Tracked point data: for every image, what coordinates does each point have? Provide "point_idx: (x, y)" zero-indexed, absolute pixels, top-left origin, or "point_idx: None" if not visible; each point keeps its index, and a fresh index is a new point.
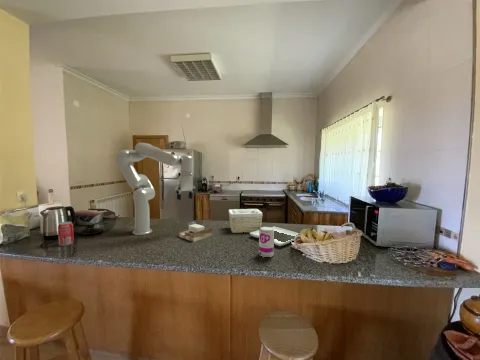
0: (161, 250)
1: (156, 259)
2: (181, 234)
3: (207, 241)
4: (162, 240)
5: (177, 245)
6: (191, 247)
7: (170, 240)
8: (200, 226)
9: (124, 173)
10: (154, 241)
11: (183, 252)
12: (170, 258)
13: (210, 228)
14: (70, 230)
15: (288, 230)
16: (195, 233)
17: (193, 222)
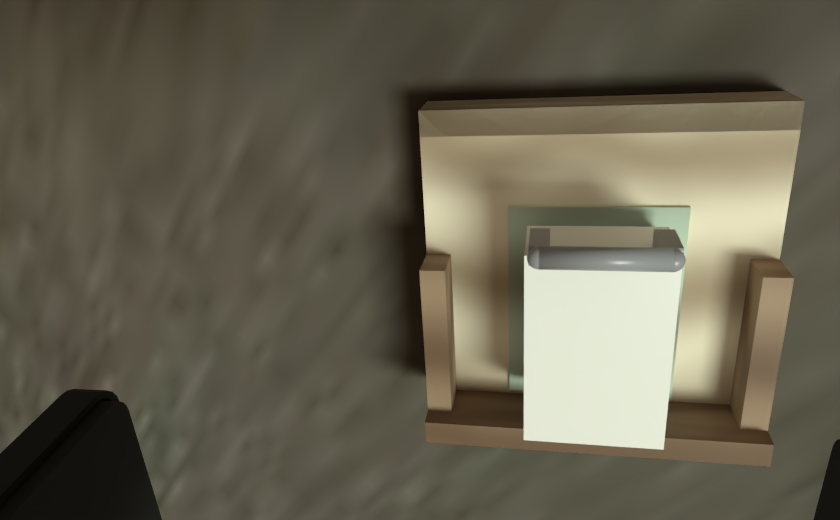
0: (105, 321)
1: (26, 426)
2: (423, 186)
3: (551, 471)
4: (210, 85)
5: (267, 333)
6: (337, 458)
7: (281, 157)
8: (612, 419)
9: None
10: (125, 45)
11: (230, 479)
12: None
13: (740, 463)
14: None
15: None
16: (454, 438)
17: (638, 270)
